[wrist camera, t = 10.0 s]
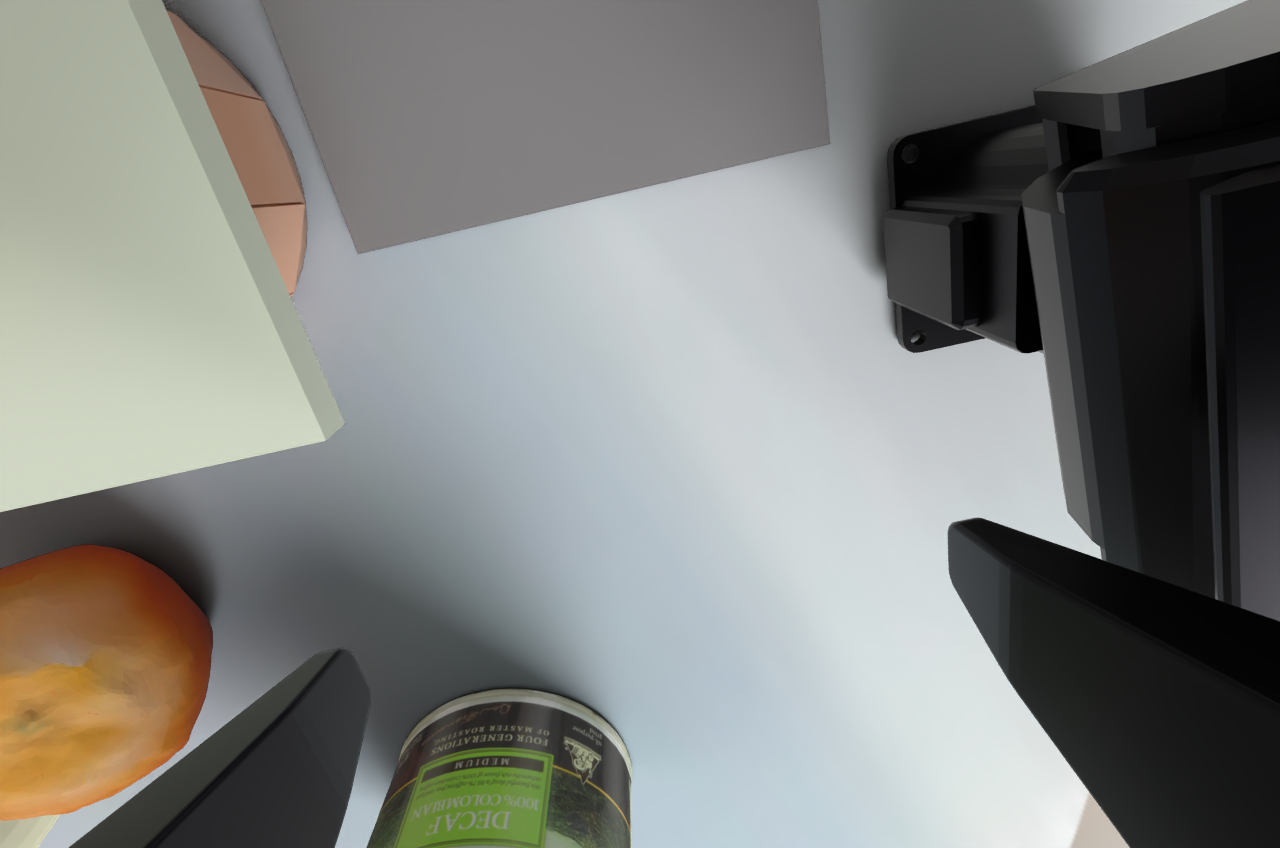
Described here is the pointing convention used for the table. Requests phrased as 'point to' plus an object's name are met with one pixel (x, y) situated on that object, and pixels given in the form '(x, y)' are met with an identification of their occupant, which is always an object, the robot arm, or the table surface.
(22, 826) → the reusable coffee cup
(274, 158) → the pot
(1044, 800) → the table surface
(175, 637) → the fruit
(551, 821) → the coffee can
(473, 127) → the mat
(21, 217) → the lid
